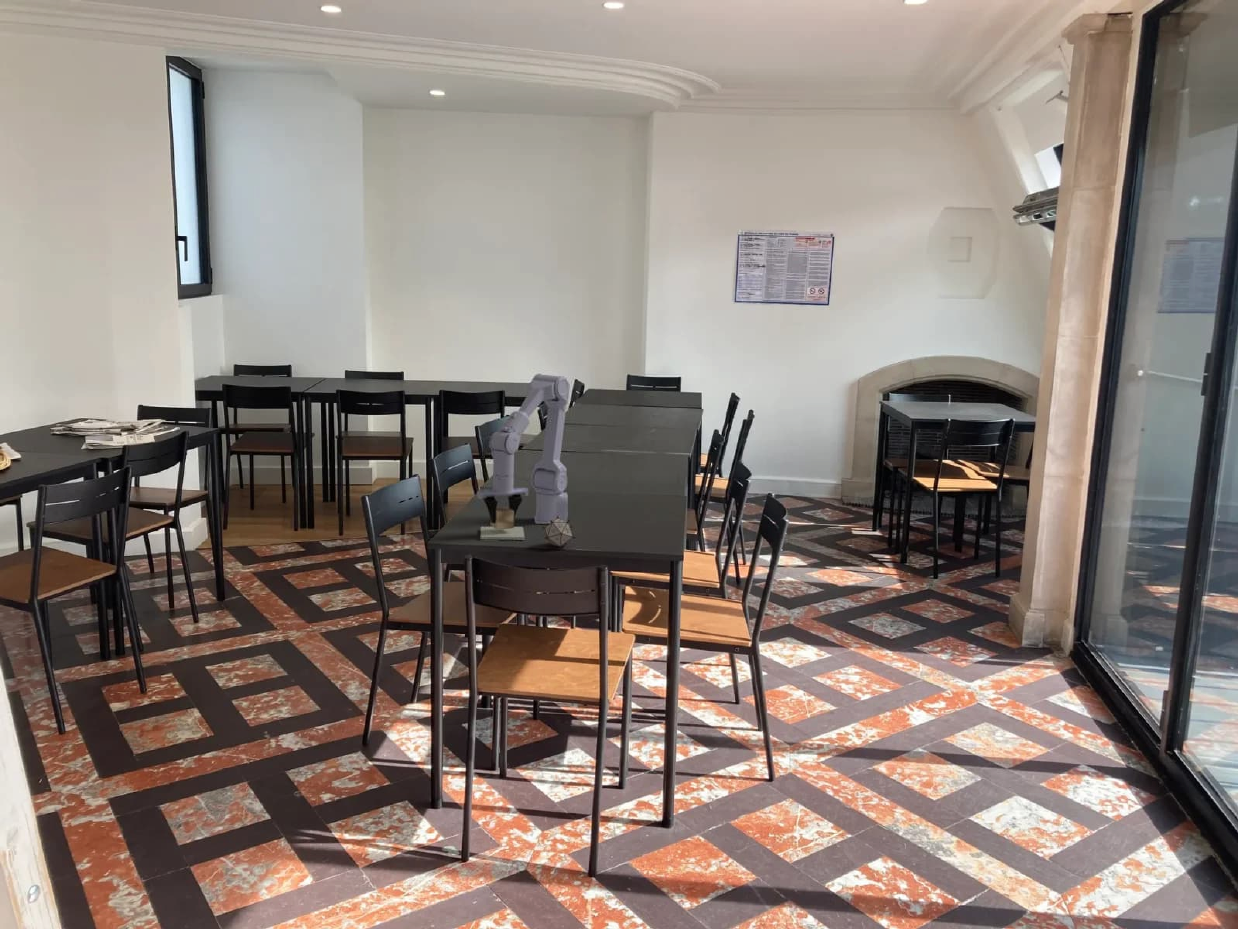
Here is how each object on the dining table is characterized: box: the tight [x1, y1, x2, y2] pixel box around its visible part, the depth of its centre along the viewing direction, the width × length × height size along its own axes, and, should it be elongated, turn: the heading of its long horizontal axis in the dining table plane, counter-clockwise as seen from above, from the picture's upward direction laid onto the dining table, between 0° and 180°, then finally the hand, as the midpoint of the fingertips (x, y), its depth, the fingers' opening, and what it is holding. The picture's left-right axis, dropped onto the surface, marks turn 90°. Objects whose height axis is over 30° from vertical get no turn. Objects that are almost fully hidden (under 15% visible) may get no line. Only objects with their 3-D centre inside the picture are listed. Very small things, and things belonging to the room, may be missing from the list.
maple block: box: [490, 506, 515, 530], centre depth 265 cm, size 5×5×5 cm
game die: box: [542, 516, 576, 550], centre depth 256 cm, size 9×8×10 cm
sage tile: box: [480, 526, 525, 541], centre depth 266 cm, size 12×11×1 cm
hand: (502, 521), depth 265 cm, fingers closed on maple block, 5 cm apart
